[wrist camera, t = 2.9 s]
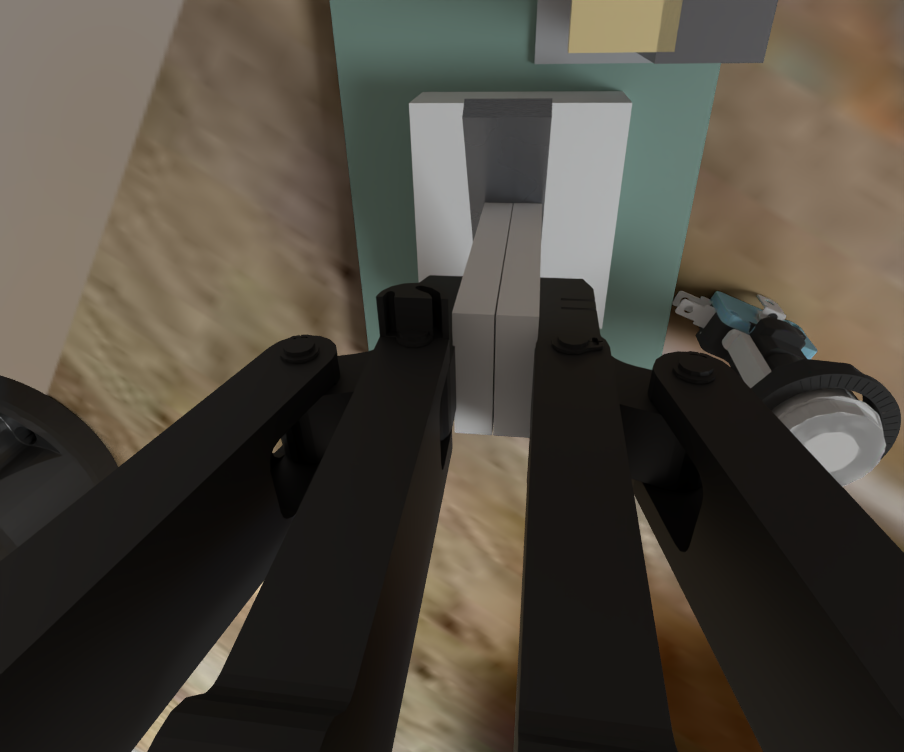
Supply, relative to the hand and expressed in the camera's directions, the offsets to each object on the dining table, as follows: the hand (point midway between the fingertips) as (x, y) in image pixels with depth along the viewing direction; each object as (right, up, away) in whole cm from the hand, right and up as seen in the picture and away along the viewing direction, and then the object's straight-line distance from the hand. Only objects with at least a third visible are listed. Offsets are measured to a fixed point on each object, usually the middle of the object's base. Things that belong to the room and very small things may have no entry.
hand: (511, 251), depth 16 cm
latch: (+5, +10, +5) cm, 12 cm away
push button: (+12, 0, +13) cm, 18 cm away
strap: (0, 0, +4) cm, 4 cm away
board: (+1, +5, +11) cm, 12 cm away
